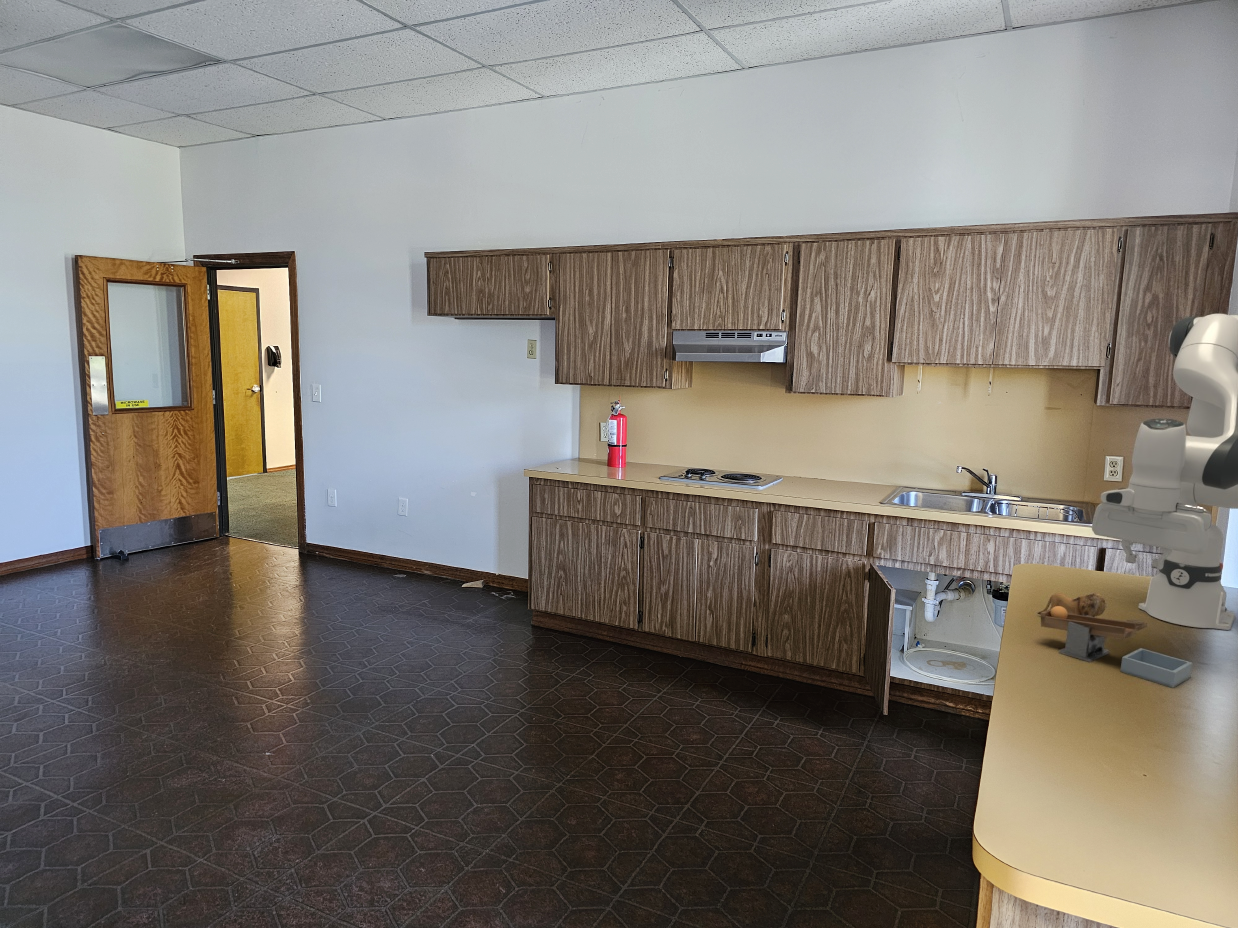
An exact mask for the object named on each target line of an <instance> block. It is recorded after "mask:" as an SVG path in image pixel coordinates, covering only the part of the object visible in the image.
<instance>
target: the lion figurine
mask: <svg viewBox="0 0 1238 928" xmlns="http://www.w3.org/2000/svg"><path fill="white" fill-rule="evenodd" d="M1055 606H1061V607H1063V608H1065V609H1066V611H1067V613H1068V614H1075V615H1082V616H1087V615H1088V616H1092V617H1099V616H1101V615H1103V614H1104V612H1105V611H1106V608H1107V606H1108V603H1107V602H1106V598H1104V596H1103V595H1102V594H1100V593H1090V594H1086V595H1083V596H1078V597H1076V598H1070V597H1068V596H1067V595H1066V594H1064V593H1060V592H1055V593H1053V594H1052V595H1051V596H1050V597H1049V599H1048V602H1047V604H1046V606H1045V608H1044V609H1043V610H1040V611H1038V612H1037V613H1036V614H1037V615H1040V616H1041V612H1044V611H1046V610H1049V609H1052V608H1053V607H1055ZM1049 607H1050V608H1049Z"/></svg>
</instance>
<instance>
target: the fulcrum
mask: <svg viewBox="0 0 1238 928" xmlns="http://www.w3.org/2000/svg"><path fill="white" fill-rule="evenodd" d="M1087 616H1088V615H1087ZM1090 617H1092V616H1090ZM1105 642H1106V637H1105V636H1099V635H1092V634H1091V627H1088V626H1084V625H1080V624H1077V623H1073V622H1069V623H1068V630H1067V633H1066V639H1065V647H1064V648H1061V649H1059V650H1058V654H1062V655H1065V656H1068V657H1071V658H1074V659H1077V658H1078V660H1081V661H1084V662H1088V663H1091V662H1093V661H1096V660H1097V659H1100V658H1102V657H1104V656H1106V655H1109V654H1110V650H1109V649H1106V648H1105V645H1106V643H1105Z"/></svg>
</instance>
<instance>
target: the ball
mask: <svg viewBox="0 0 1238 928" xmlns="http://www.w3.org/2000/svg"><path fill="white" fill-rule="evenodd" d="M1050 614H1051V617H1055V618H1062V619H1066V618H1067V615H1068V614H1067V611H1066V609H1065V608H1063V607H1061V606H1055V607H1053V608H1052V609H1051V612H1050Z"/></svg>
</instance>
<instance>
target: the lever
mask: <svg viewBox="0 0 1238 928" xmlns="http://www.w3.org/2000/svg"><path fill="white" fill-rule="evenodd" d="M1040 612H1041V611H1040ZM1050 612H1051V609H1050V608H1048V609H1047V610H1046V611H1044V612H1041V615H1040V627H1042V628H1047V629H1055V630H1061V631H1065V632H1066V631H1067V630H1068V623H1069V622H1073V623H1077V624H1080V625H1084V626H1088V627H1091V634H1092V635H1099V636H1105V638H1106V637H1107V638H1112V639H1120V640H1126V639H1128V638H1130V637H1132V636H1135V635H1136V634H1137V632H1139V631H1141V630H1143V629H1145V628H1148V622H1145V621H1143V620H1141V619H1139V620H1138V619H1127V620H1126V621H1125V620H1124V621H1123V620H1117V619H1110V618H1103V617H1102V618H1101V617H1098V616H1095V617H1090V616H1082V615H1075V614H1068V613H1067V614H1068V615H1067V618H1066V619H1062V618H1055V617H1051V614H1050Z"/></svg>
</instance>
